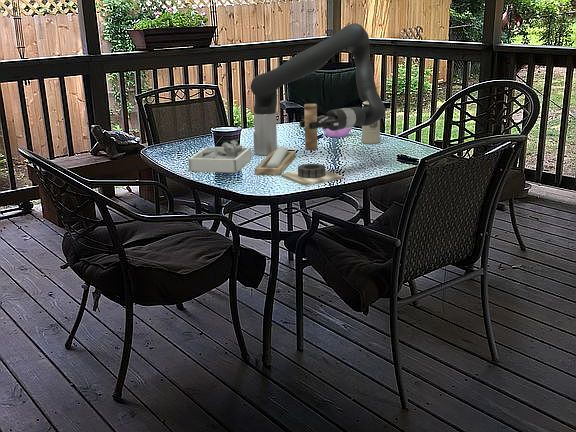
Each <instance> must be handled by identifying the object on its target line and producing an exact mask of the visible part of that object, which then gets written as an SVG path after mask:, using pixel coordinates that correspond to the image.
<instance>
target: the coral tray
mask: <svg viewBox="0 0 576 432" xmlns="http://www.w3.org/2000/svg"><path fill="white" fill-rule="evenodd" d="M210 149H219V150H220V151H222V153H225V154H226V152H225V151H224V149H225V148H224V147H222V146H205V147H204V148H202V149H200V150H199V151H197V152H196V153H195V154H193V155H192V156H190V157H188V158H187V159H188V161H187V162H188V163H187V164H188V172H189V171H197V172H196V173H226V174H227V173H233V174H237V173H238V172H240V170H242V169H243V168H244V167H245V166H246V165H247V164H248V163H249V162H250V161H251V160H252V147H244V146H242V151H240V152H238V153H237V155H238V157H236V158H235V159H201V157H202V154H203V152H204V151H205V150H210Z"/></svg>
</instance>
